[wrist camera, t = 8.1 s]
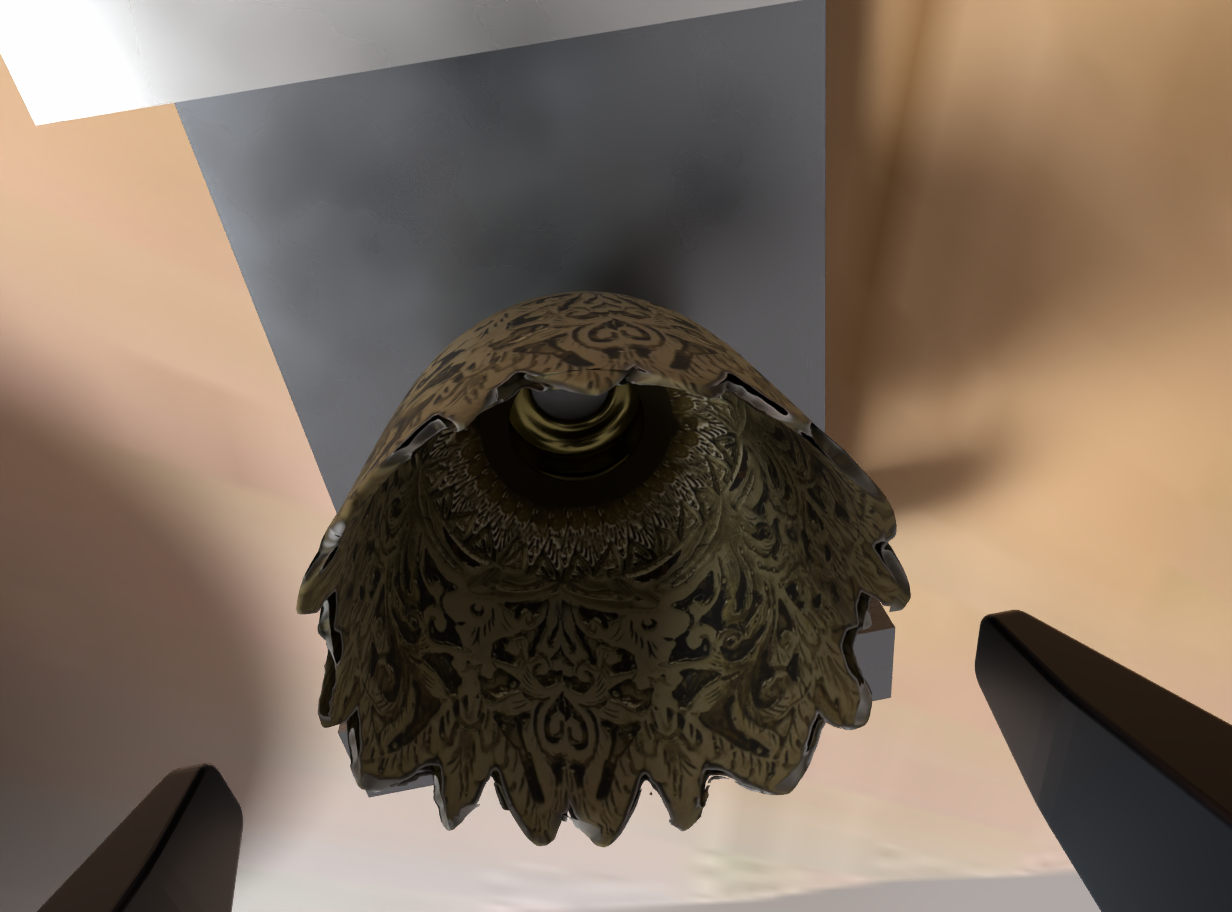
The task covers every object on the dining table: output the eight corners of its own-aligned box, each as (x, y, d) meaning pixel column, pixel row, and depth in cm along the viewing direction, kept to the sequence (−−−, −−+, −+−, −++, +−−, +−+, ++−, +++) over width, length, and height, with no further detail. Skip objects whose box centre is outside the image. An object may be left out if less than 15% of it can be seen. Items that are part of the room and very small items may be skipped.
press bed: (795, -154, 13) (951, -233, 9) (805, 541, 21) (890, 697, 16) (150, -52, 13) (-52, -78, 8) (400, 615, 21) (369, 797, 16)
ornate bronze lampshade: (386, 178, 14) (268, 358, 7) (781, 223, 15) (1006, 413, 8) (388, 524, 18) (312, 863, 11) (707, 537, 19) (821, 849, 12)
